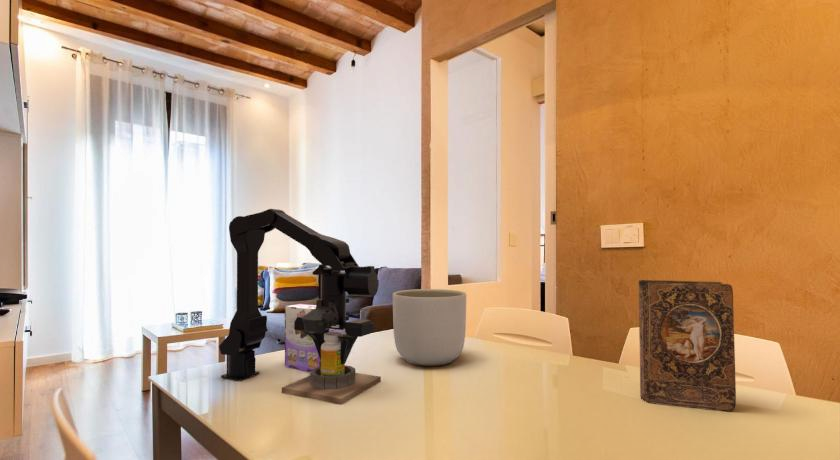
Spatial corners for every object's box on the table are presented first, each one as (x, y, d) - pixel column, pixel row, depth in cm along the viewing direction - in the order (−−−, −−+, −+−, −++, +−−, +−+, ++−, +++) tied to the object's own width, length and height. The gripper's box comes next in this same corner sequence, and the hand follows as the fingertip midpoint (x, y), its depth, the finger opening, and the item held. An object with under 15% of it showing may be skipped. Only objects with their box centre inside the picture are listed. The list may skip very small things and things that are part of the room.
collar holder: (281, 393, 95) (281, 376, 96) (326, 373, 110) (326, 358, 110) (341, 404, 89) (341, 386, 89) (380, 381, 103) (380, 366, 103)
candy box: (336, 369, 113) (336, 306, 114) (320, 375, 109) (320, 309, 109) (300, 361, 121) (300, 302, 121) (283, 366, 116) (283, 305, 116)
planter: (470, 371, 111) (469, 297, 112) (389, 371, 111) (389, 297, 112) (463, 351, 132) (462, 288, 133) (395, 351, 132) (395, 288, 133)
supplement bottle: (339, 380, 96) (339, 336, 96) (316, 378, 97) (316, 335, 97) (348, 373, 101) (348, 331, 102) (326, 371, 102) (326, 330, 103)
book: (642, 402, 90) (640, 281, 90) (638, 393, 95) (636, 279, 95) (736, 412, 84) (733, 284, 85) (726, 402, 89) (724, 281, 90)
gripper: (277, 296, 97) (276, 366, 96) (346, 301, 89) (346, 378, 88) (310, 291, 107) (309, 354, 106) (375, 295, 99) (374, 364, 98)
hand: (332, 362), depth 99 cm, fingers closed on supplement bottle, 5 cm apart
